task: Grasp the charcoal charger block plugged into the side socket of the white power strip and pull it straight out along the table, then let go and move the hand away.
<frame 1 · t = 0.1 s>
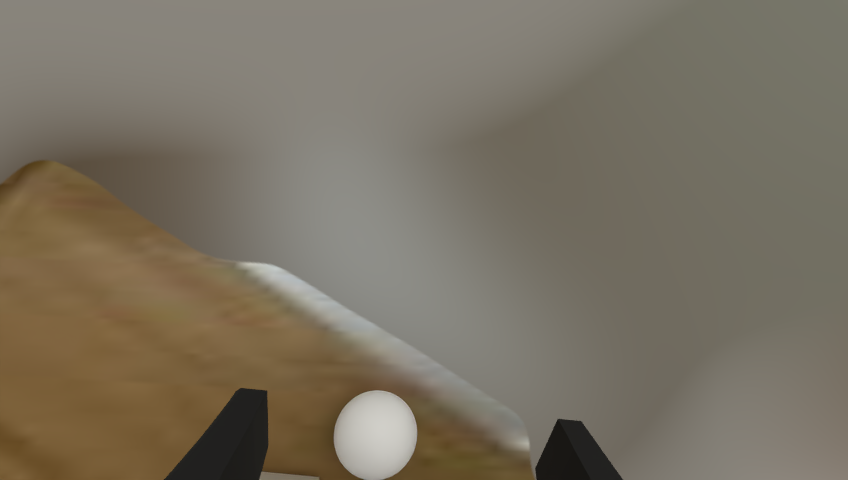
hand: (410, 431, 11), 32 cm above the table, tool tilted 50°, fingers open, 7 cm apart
lightbulb: (373, 425, 41), on the table
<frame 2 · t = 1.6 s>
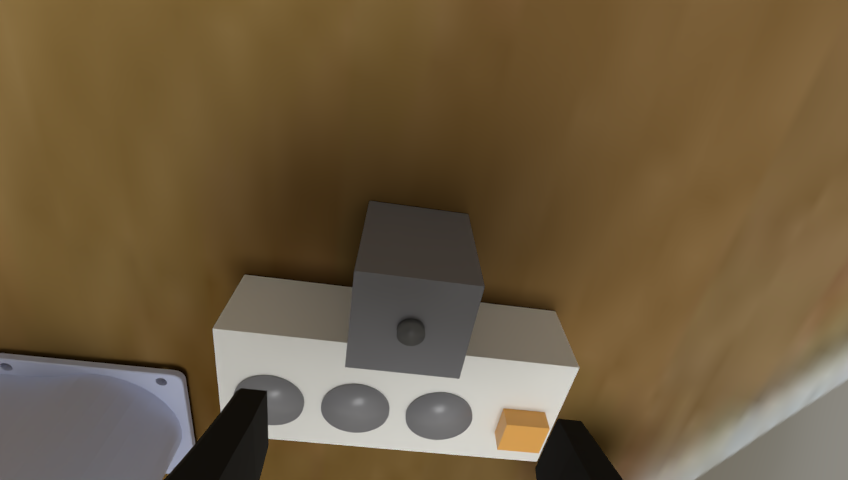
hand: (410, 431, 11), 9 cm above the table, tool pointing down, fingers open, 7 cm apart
charger: (408, 302, 17), point 3 cm above the table, slide at 0.0 cm
power strip: (396, 343, 21), on the table
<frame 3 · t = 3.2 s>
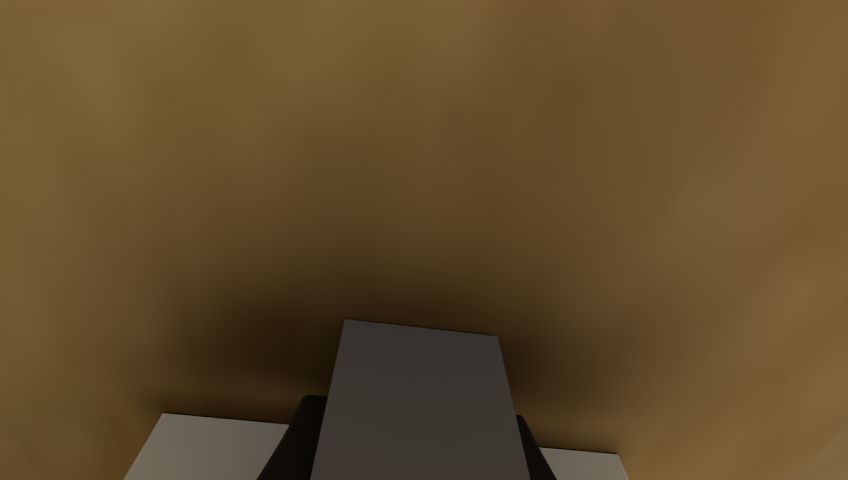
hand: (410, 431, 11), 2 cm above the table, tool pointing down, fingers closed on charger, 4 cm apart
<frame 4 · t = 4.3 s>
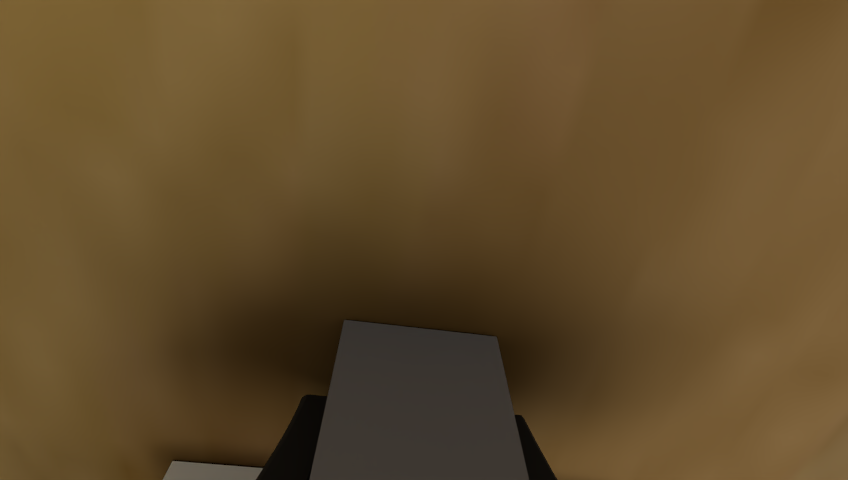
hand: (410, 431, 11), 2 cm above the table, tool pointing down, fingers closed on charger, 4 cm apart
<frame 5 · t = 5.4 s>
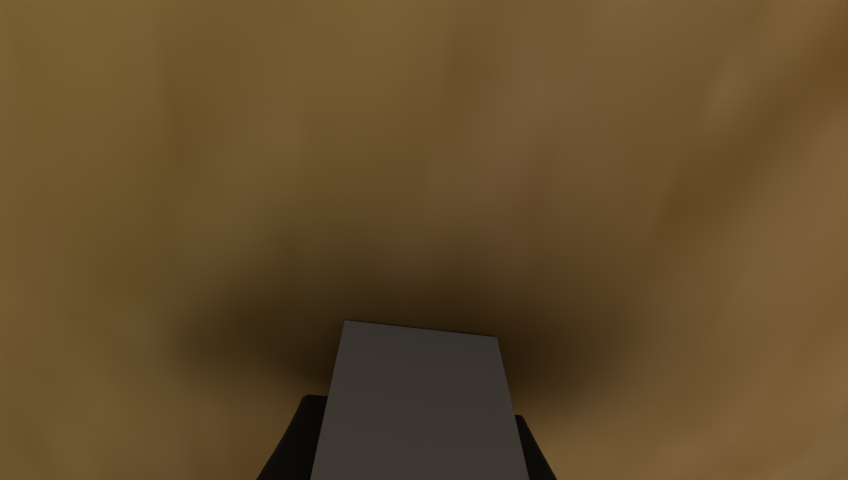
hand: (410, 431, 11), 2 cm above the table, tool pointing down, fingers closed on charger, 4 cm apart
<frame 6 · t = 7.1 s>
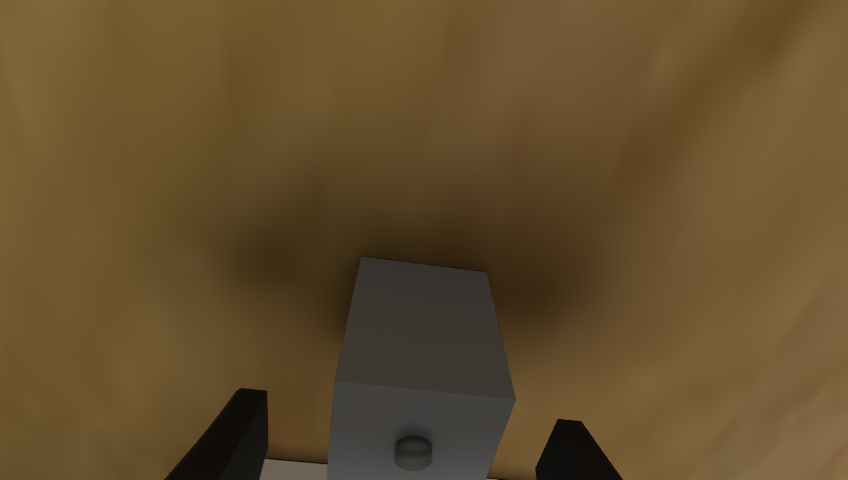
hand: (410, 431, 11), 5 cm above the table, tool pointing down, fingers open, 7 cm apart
charger: (410, 391, 13), point 3 cm above the table, slide at 6.5 cm
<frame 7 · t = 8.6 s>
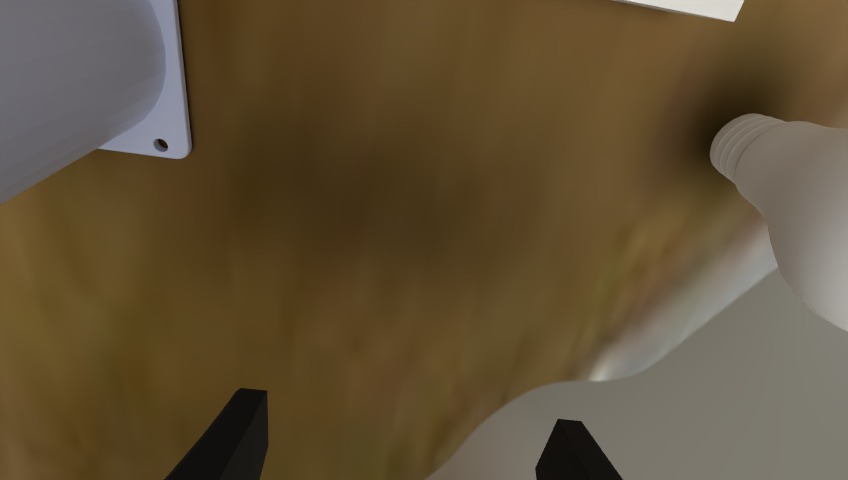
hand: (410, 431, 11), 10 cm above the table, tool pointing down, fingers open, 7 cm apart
lightbulb: (726, 136, 19), on the table
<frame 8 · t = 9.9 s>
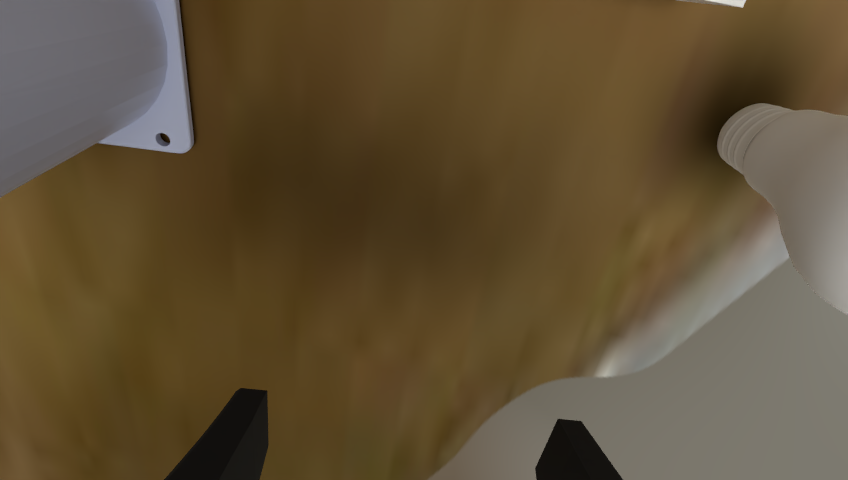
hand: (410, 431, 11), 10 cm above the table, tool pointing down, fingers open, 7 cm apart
lightbulb: (733, 127, 19), on the table
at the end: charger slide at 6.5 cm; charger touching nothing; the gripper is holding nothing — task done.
